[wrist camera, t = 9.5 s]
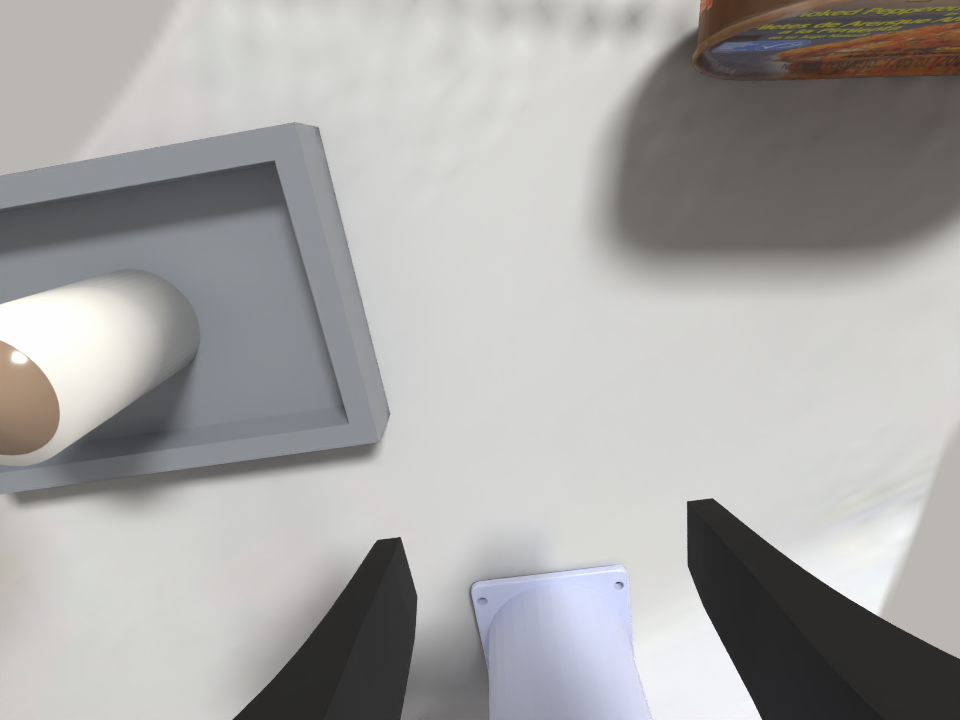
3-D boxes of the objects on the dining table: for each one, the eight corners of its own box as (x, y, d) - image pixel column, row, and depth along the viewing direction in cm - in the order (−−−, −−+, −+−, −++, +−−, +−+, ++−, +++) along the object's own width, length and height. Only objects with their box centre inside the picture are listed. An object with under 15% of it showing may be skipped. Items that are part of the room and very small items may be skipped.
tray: (390, 414, 23) (379, 442, 21) (21, 465, 24) (-28, 498, 22) (318, 127, 19) (294, 122, 17) (-125, 207, 20) (-205, 212, 18)
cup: (215, 368, 22) (98, 456, 15) (113, 382, 22) (-46, 475, 15) (176, 261, 20) (27, 308, 14) (67, 277, 20) (-133, 331, 14)
